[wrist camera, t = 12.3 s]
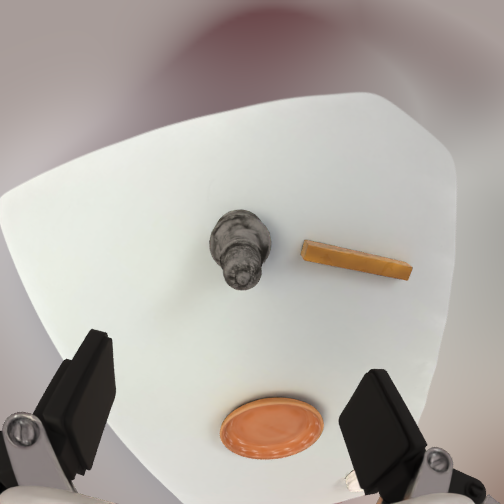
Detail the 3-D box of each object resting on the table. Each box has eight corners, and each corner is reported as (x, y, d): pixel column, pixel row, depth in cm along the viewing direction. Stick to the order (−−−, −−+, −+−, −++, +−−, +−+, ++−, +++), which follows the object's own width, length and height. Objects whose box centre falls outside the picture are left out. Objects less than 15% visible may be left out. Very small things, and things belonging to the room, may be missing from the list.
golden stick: (304, 239, 33) (308, 244, 31) (406, 262, 35) (413, 267, 33) (300, 254, 33) (303, 260, 32) (401, 275, 35) (407, 280, 34)
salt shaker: (207, 211, 31) (192, 249, 20) (263, 203, 31) (281, 236, 20) (216, 263, 33) (209, 324, 22) (270, 256, 33) (288, 313, 22)
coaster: (379, 456, 51) (384, 468, 48) (388, 468, 54) (392, 478, 51) (339, 475, 52) (342, 487, 49) (351, 485, 56) (355, 495, 52)
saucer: (205, 435, 43) (204, 448, 41) (248, 376, 39) (250, 391, 36) (286, 453, 47) (288, 465, 44) (339, 401, 42) (344, 414, 40)
